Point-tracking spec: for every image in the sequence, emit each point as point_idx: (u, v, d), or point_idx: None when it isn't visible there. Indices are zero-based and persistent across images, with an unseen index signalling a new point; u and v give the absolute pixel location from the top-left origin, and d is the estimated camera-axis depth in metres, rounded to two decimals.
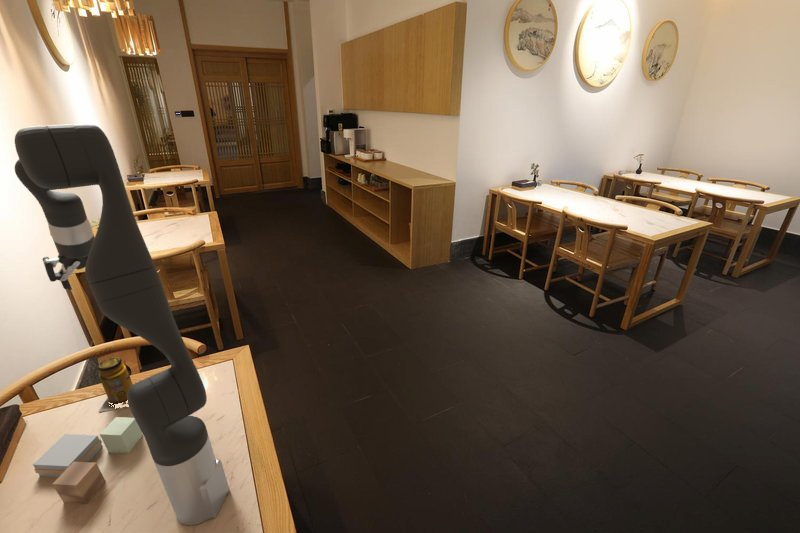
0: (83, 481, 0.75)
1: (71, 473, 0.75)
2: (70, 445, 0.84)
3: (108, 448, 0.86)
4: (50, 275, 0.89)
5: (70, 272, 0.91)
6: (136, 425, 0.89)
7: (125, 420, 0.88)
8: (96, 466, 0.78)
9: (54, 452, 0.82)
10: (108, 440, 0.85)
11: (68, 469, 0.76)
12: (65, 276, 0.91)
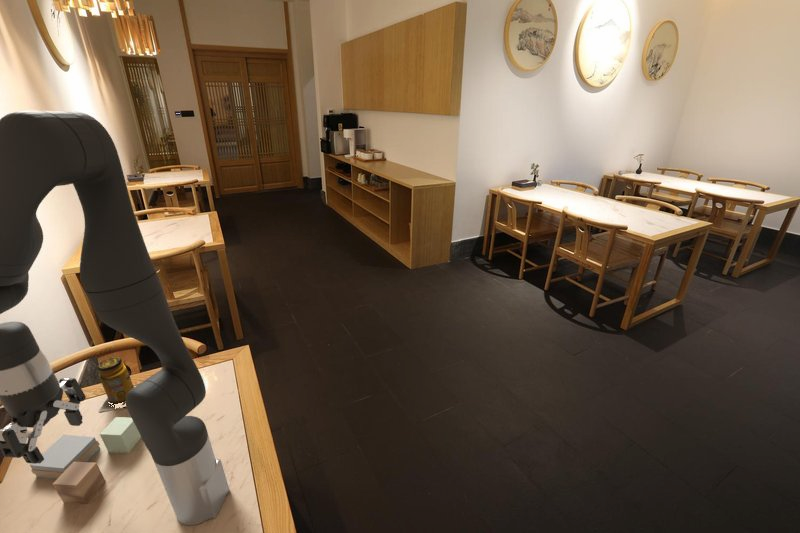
0: (83, 481, 0.75)
1: (71, 473, 0.75)
2: (68, 446, 0.84)
3: (108, 448, 0.86)
4: (15, 448, 0.63)
5: (39, 432, 0.66)
6: None
7: (125, 420, 0.88)
8: (96, 466, 0.78)
9: (51, 453, 0.82)
10: (108, 440, 0.85)
11: (68, 469, 0.76)
12: (33, 442, 0.66)
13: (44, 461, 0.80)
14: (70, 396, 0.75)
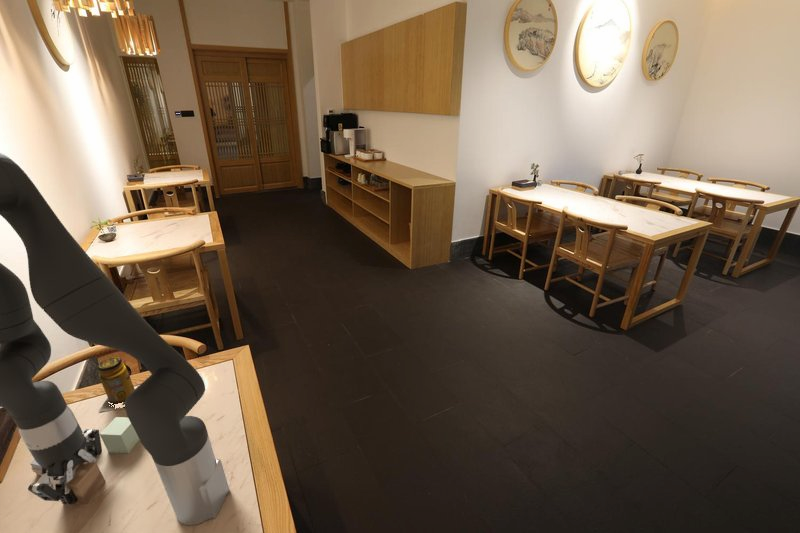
0: (82, 481, 0.75)
1: None
2: None
3: (108, 448, 0.86)
4: (53, 495, 0.70)
5: (70, 478, 0.73)
6: None
7: (125, 420, 0.88)
8: (96, 466, 0.78)
9: None
10: (108, 440, 0.85)
11: None
12: (69, 485, 0.73)
13: None
14: (88, 449, 0.79)
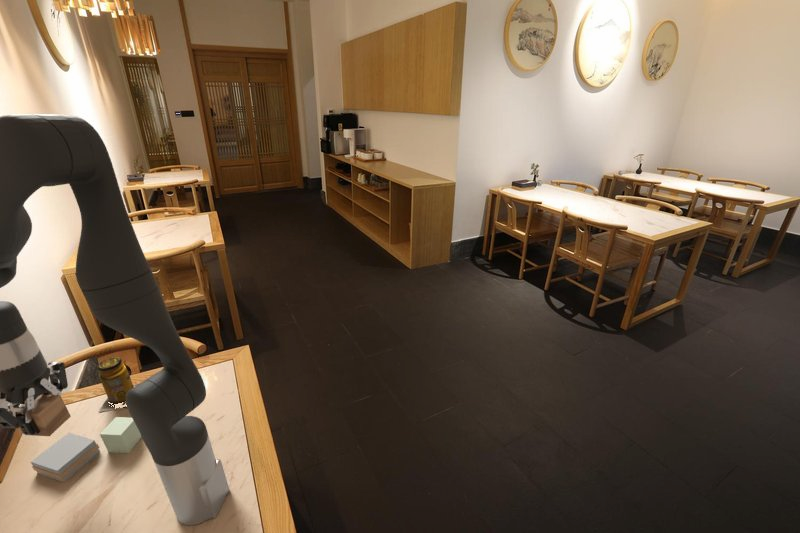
0: (45, 411, 0.72)
1: None
2: (68, 446, 0.84)
3: (108, 448, 0.86)
4: (12, 421, 0.67)
5: (31, 406, 0.70)
6: None
7: (125, 420, 0.88)
8: (60, 399, 0.75)
9: (52, 452, 0.82)
10: (108, 440, 0.85)
11: None
12: (30, 414, 0.70)
13: (43, 459, 0.81)
14: (53, 383, 0.77)
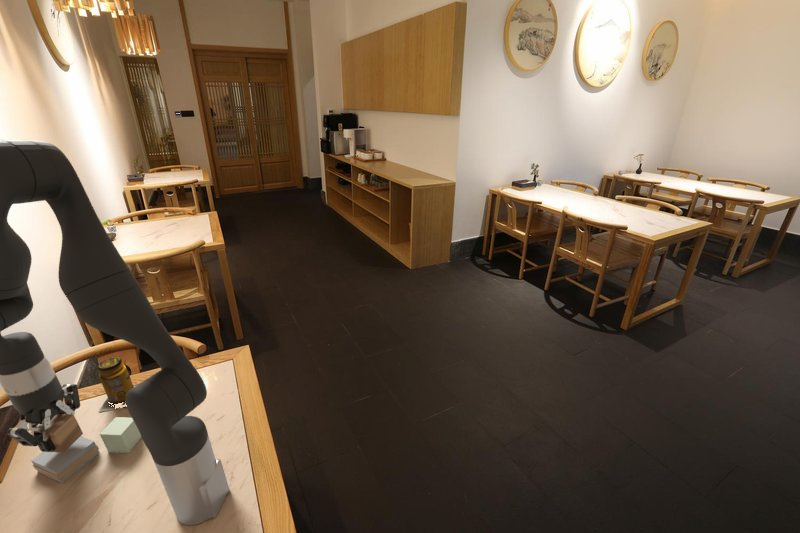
0: (60, 430, 0.79)
1: None
2: None
3: (108, 448, 0.86)
4: (31, 440, 0.74)
5: (48, 426, 0.77)
6: None
7: (125, 420, 0.88)
8: (73, 418, 0.82)
9: None
10: (108, 440, 0.85)
11: None
12: (47, 433, 0.77)
13: (43, 459, 0.81)
14: (67, 403, 0.84)
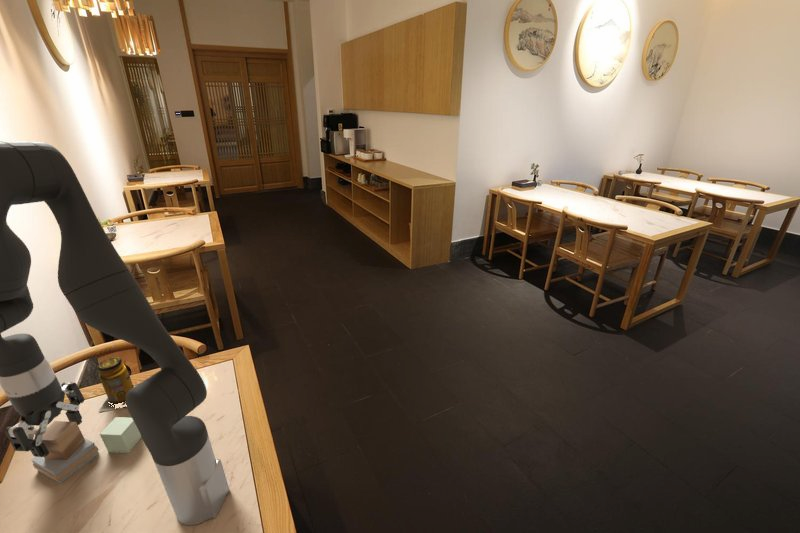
0: (63, 437, 0.80)
1: (52, 430, 0.80)
2: None
3: (108, 448, 0.86)
4: (24, 443, 0.73)
5: (44, 429, 0.76)
6: None
7: (125, 420, 0.88)
8: (76, 425, 0.83)
9: None
10: (108, 440, 0.85)
11: (49, 427, 0.81)
12: (39, 438, 0.76)
13: (43, 459, 0.81)
14: (71, 398, 0.85)
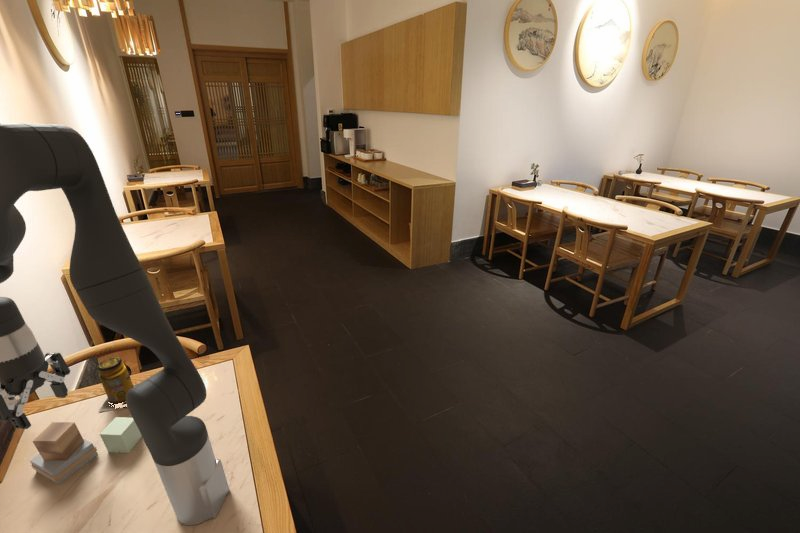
0: (62, 438, 0.80)
1: (50, 431, 0.80)
2: None
3: (108, 448, 0.86)
4: (4, 412, 0.69)
5: (25, 399, 0.72)
6: (136, 425, 0.89)
7: (125, 420, 0.88)
8: (74, 425, 0.83)
9: None
10: (108, 440, 0.85)
11: (47, 428, 0.81)
12: (20, 408, 0.72)
13: (42, 459, 0.81)
14: (56, 370, 0.81)
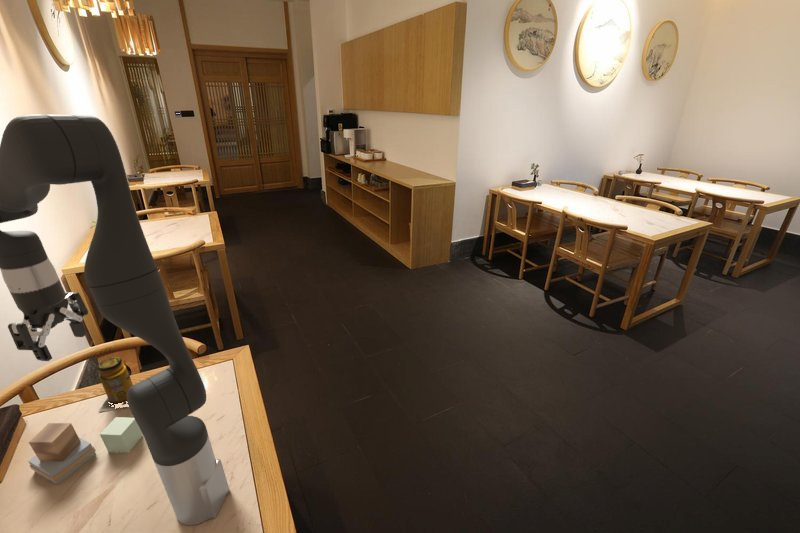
0: (58, 439, 0.79)
1: (47, 432, 0.80)
2: None
3: (108, 448, 0.86)
4: (27, 341, 0.72)
5: (47, 331, 0.75)
6: (136, 425, 0.89)
7: (125, 420, 0.88)
8: (71, 426, 0.82)
9: None
10: (108, 440, 0.85)
11: (43, 429, 0.81)
12: (42, 340, 0.75)
13: None
14: (74, 310, 0.84)
